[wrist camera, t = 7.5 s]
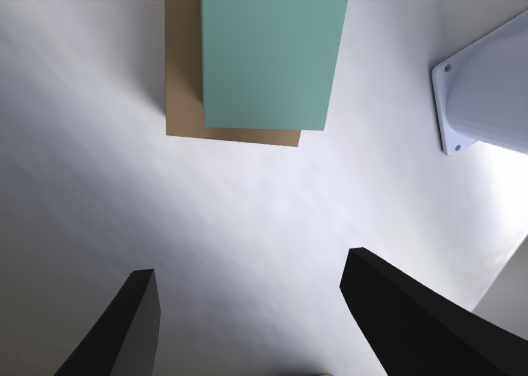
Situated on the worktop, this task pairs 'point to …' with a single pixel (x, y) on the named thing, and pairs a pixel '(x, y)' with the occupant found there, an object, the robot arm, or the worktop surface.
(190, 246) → the worktop surface
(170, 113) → the walnut block
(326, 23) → the teal cube
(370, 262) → the robot arm
